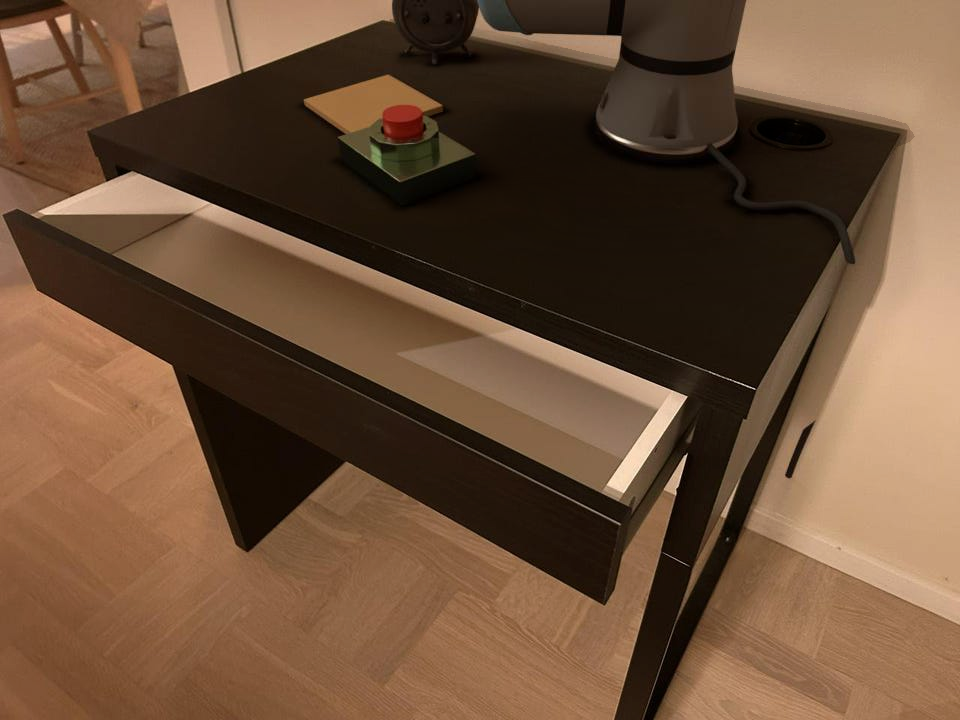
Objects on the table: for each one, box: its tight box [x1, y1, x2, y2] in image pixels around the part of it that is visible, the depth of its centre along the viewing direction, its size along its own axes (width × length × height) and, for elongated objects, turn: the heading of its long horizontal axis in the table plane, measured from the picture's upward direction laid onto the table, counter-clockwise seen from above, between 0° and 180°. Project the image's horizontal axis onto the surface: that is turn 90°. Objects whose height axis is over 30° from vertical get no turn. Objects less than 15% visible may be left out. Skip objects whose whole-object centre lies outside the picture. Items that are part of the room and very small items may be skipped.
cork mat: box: [303, 74, 444, 135], centre depth 89 cm, size 12×12×1 cm
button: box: [382, 105, 424, 139], centre depth 75 cm, size 4×4×2 cm
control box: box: [337, 116, 477, 207], centre depth 77 cm, size 12×9×4 cm
